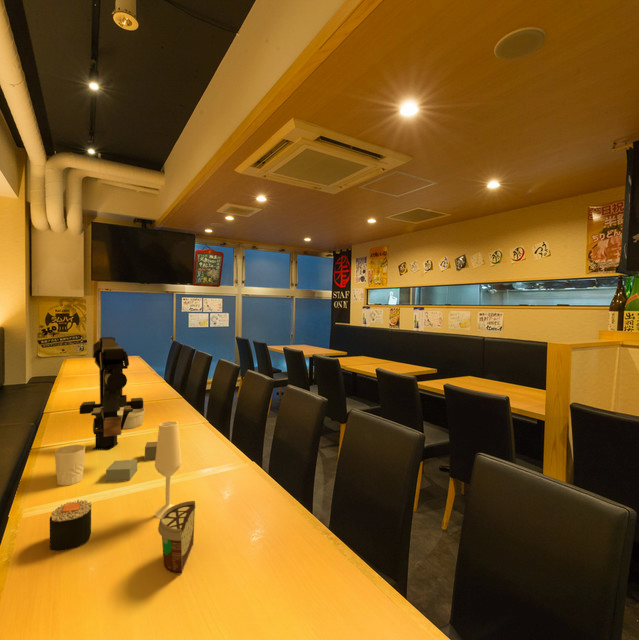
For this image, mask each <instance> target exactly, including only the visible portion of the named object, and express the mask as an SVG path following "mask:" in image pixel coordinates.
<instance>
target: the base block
mask: <svg viewBox="0 0 639 640" xmlns="http://www.w3.org/2000/svg"><path fill="white" fill-rule="evenodd" d="M137 472H138V459H129V460H128V459H127V460H126V459H125V460H123V459H121V460H114V461H113V462H112V463H111V464H110V465H109V466H108V467H107V468H106V470H105V483H107V482H109V483H110V482H125V481H126V482H129V481H131V480H132V478H133V477H134V476H135V474H136V473H137Z"/></svg>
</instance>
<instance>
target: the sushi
mask: <svg viewBox="0 0 639 640" xmlns="http://www.w3.org/2000/svg"><path fill="white" fill-rule="evenodd" d="M92 506H93V505H92V502H91V501H89V502H88V500H85V499H83V500H79V499H76V501H75V500H74V501H68V502H66V503H64V504H61V505H60V506H57V508H55V510H53V511H52V512H51V514H50V517H49V550H51V551H54V552H64V551H68V550H72V549H77V548H79V547H81V546H83V545H84V544H86V543H88V541H89V540H90V538H91V535H92Z"/></svg>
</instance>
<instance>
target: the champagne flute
mask: <svg viewBox="0 0 639 640" xmlns="http://www.w3.org/2000/svg"><path fill="white" fill-rule="evenodd" d="M180 439H181V438H180V428H179V422H178V421H176V420H166V421H163V422H160V423H159V424H158V435H157V440H156V442H157V449H156V459H155V460H154V468H155V470H156V471H157V472H158V474H160V475H161V476H163V477H165V504H164V505H162V506H160V507H159V508H158V509H156V510H155V511H154V517H156V518H158V519H161V517H162V515H163V513H164V512H165V511H166V510H168V509H169V508H171V507H172V506H174V505H175V504H172V503H171V482H172V481H171V478H172V476H173V475H174V474H175V473H176V472H177V471H179V469H180V468H181V465H182V464H183V462H182V451H181V450H182V449H181V441H180Z"/></svg>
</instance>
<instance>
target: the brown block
mask: <svg viewBox="0 0 639 640" xmlns="http://www.w3.org/2000/svg"><path fill="white" fill-rule="evenodd" d="M156 449H157V441H150V442H149V441H146V443H145V446H144V462H149V461H150V462H151V461H155V459H156Z"/></svg>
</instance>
